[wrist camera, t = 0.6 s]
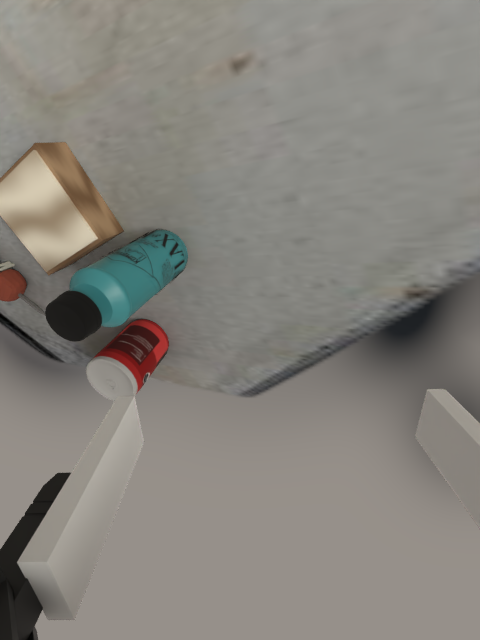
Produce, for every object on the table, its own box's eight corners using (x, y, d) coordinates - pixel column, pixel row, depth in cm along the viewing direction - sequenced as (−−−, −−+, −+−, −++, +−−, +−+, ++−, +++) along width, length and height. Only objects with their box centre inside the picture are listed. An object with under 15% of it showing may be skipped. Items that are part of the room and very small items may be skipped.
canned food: (139, 357, 54) (100, 402, 45) (121, 319, 50) (74, 360, 41) (176, 356, 51) (144, 403, 42) (160, 315, 48) (120, 357, 38)
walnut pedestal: (14, 189, 42) (-20, 195, 38) (65, 142, 37) (32, 143, 33) (71, 264, 47) (46, 276, 43) (124, 231, 41) (101, 241, 37)
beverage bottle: (197, 270, 42) (111, 359, 25) (155, 271, 44) (49, 354, 27) (188, 223, 39) (83, 288, 22) (143, 225, 40) (14, 287, 24)
